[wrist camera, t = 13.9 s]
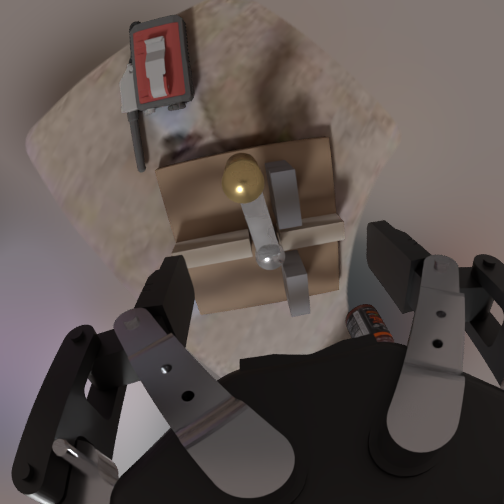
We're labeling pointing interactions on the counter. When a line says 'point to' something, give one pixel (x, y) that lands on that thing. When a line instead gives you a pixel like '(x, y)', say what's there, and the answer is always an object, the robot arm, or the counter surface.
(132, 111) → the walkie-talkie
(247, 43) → the counter surface
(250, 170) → the swing bar
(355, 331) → the supplement bottle
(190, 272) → the lock base
